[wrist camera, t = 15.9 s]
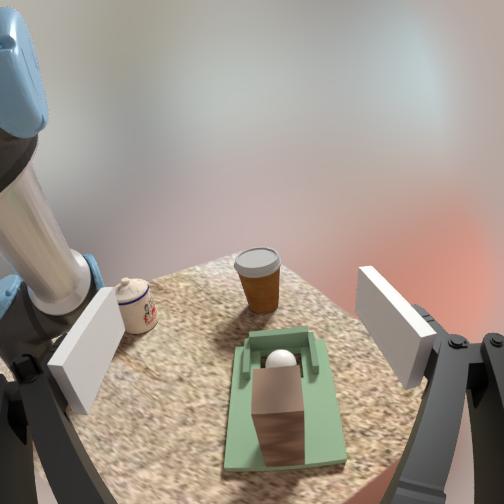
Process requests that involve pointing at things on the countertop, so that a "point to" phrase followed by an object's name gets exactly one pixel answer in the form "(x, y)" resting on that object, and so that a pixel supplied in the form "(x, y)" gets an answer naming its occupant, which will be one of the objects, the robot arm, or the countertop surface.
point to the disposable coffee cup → (260, 277)
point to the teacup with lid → (136, 305)
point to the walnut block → (279, 415)
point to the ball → (280, 359)
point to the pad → (314, 397)
